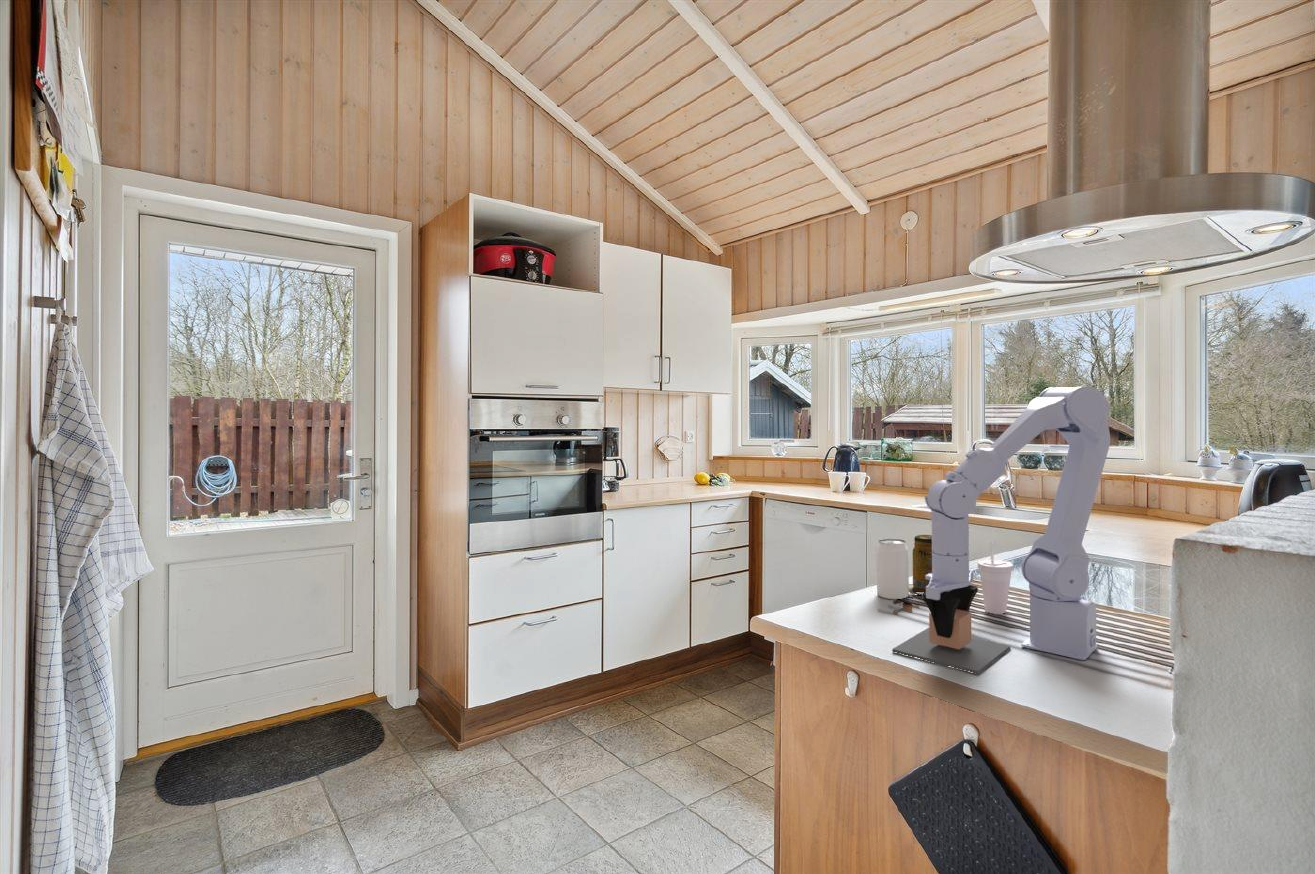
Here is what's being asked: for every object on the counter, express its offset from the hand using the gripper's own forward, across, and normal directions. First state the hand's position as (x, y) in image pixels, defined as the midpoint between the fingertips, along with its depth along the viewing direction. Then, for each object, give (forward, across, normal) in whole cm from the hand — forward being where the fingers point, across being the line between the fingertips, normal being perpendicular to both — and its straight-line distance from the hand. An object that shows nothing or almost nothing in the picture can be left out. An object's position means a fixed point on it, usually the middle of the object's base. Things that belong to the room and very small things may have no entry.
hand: (951, 631), depth 114 cm
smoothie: (+3, -26, -2) cm, 26 cm away
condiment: (+4, -31, -18) cm, 36 cm away
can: (+3, -23, -22) cm, 32 cm away
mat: (+3, 0, 0) cm, 3 cm away
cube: (+2, 0, 0) cm, 2 cm away
